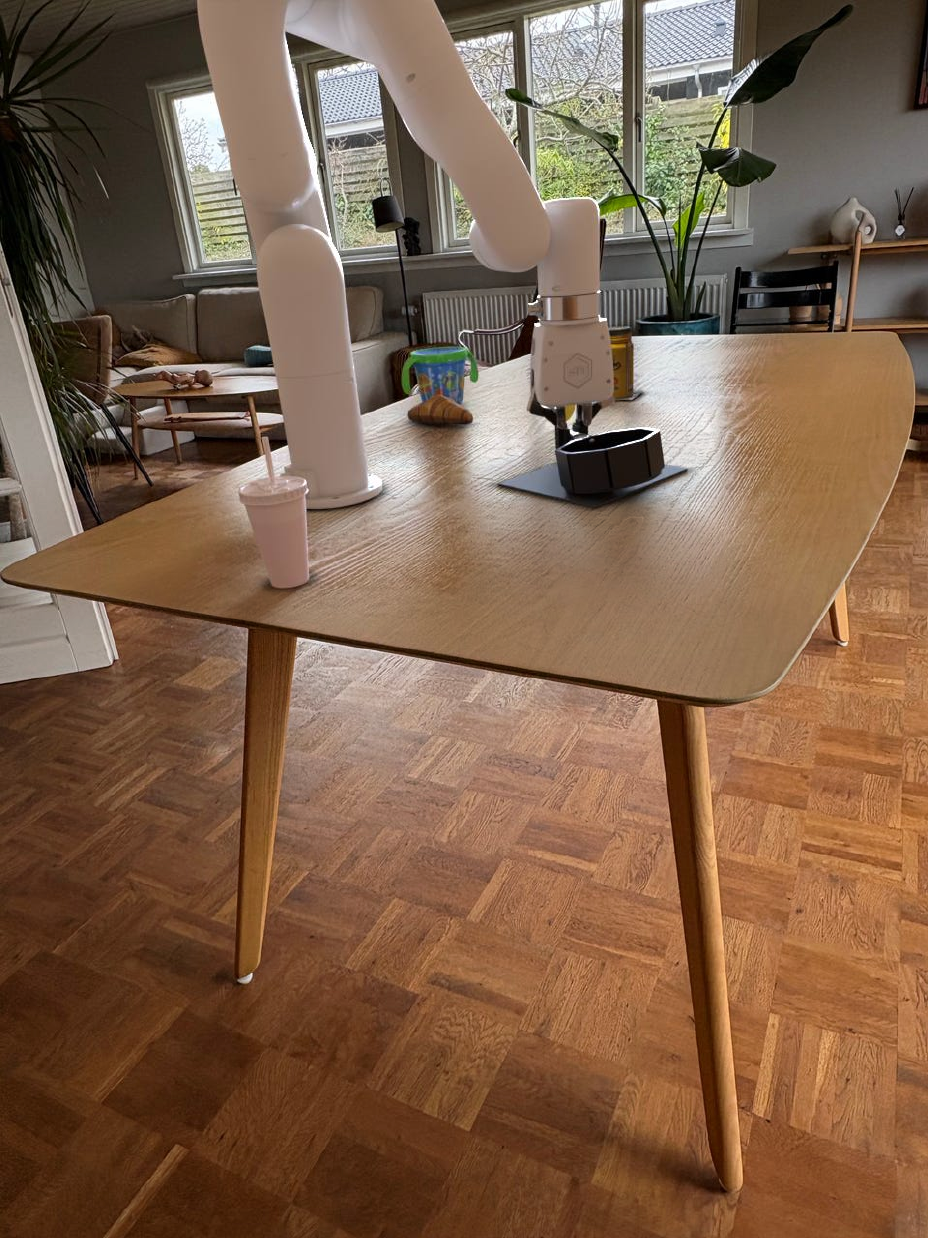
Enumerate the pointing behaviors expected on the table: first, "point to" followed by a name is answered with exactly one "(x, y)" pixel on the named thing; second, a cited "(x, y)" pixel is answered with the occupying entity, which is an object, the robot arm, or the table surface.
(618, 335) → the condiment
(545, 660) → the table surface
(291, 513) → the smoothie
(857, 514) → the table surface
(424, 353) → the snack cup
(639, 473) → the black octagonal pot
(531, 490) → the mat
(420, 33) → the robot arm
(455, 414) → the croissant
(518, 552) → the table surface
